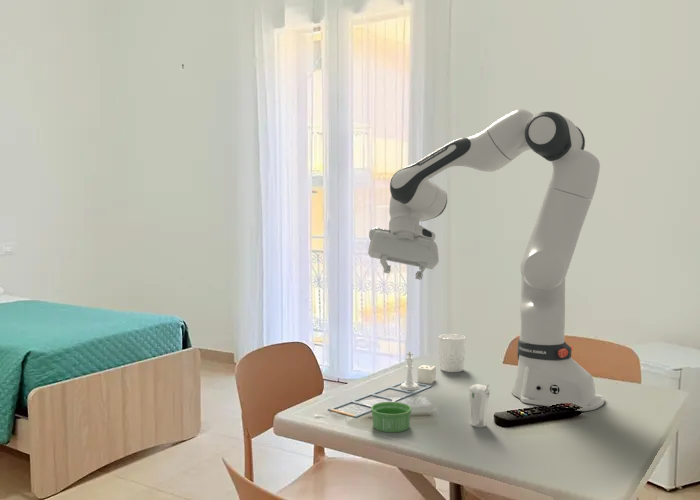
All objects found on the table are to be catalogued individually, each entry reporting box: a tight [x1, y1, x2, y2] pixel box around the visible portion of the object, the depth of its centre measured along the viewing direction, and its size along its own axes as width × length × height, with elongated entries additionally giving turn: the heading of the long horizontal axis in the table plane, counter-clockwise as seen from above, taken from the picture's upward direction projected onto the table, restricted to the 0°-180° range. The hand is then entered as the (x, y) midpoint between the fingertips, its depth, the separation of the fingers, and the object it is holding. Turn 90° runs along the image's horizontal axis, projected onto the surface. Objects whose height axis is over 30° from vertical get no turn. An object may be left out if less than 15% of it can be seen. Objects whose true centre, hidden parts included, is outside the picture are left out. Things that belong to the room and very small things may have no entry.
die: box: [416, 364, 437, 385], centre depth 182 cm, size 4×4×4 cm
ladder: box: [327, 379, 433, 418], centre depth 166 cm, size 9×33×1 cm, turn 141°
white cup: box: [438, 333, 466, 373], centre depth 194 cm, size 8×8×10 cm
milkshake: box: [468, 383, 490, 428], centre depth 145 cm, size 4×5×10 cm
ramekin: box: [370, 401, 412, 433], centre depth 145 cm, size 9×9×4 cm
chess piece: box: [399, 350, 420, 391], centre depth 175 cm, size 5×5×10 cm
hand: (403, 275), depth 182 cm, fingers open, 8 cm apart
